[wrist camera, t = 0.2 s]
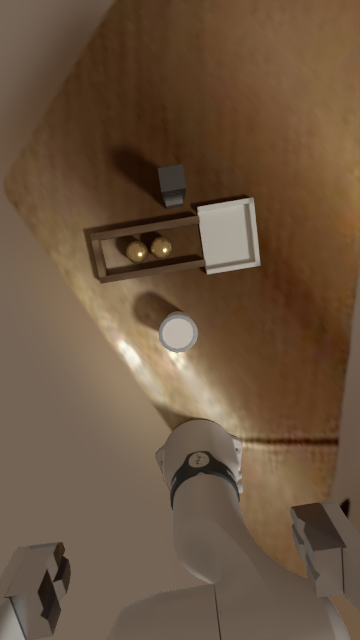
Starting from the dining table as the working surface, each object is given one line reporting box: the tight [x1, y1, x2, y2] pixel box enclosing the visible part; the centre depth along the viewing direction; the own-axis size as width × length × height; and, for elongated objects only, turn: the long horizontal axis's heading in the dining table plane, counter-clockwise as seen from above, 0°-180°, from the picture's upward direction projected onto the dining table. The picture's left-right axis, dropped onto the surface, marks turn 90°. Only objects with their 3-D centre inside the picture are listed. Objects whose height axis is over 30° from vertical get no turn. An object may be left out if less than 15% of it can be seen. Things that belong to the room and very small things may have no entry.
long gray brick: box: [158, 164, 186, 209], centre depth 47 cm, size 4×4×11 cm
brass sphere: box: [126, 241, 148, 263], centre depth 52 cm, size 4×4×4 cm
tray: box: [197, 198, 260, 274], centre depth 53 cm, size 12×10×2 cm
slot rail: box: [90, 216, 206, 283], centre depth 53 cm, size 9×20×2 cm, turn 99°
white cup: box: [159, 311, 198, 353], centre depth 54 cm, size 7×7×7 cm
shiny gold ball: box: [151, 237, 173, 259], centre depth 52 cm, size 4×4×4 cm
